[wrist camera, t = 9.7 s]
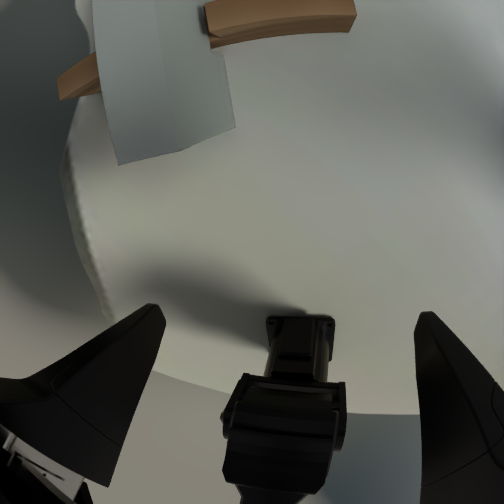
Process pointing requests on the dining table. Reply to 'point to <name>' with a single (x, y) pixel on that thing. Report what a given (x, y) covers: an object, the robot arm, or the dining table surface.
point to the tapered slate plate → (159, 76)
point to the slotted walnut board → (236, 30)
